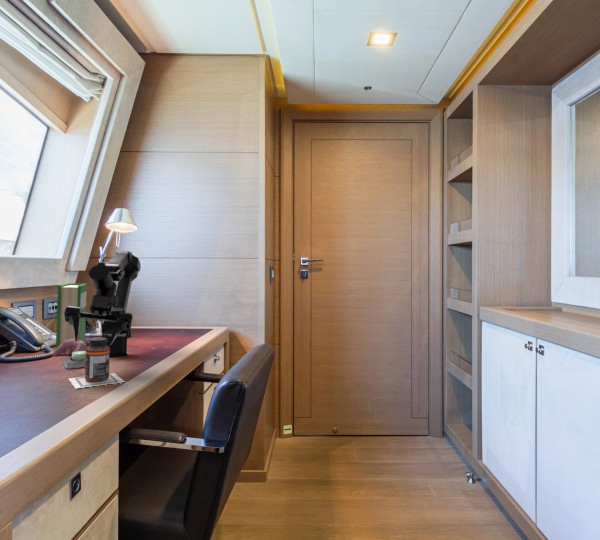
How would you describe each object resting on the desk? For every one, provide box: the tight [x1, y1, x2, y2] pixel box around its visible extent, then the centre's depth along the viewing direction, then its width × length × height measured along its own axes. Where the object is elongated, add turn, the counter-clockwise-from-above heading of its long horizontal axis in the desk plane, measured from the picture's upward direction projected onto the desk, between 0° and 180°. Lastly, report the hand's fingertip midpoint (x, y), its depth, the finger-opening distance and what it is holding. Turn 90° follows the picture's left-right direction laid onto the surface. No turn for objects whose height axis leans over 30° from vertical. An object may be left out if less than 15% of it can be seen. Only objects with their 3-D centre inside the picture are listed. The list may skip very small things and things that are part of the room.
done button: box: [71, 350, 86, 362], centre depth 132 cm, size 5×5×2 cm
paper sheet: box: [68, 372, 126, 390], centre depth 114 cm, size 12×11×1 cm
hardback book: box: [55, 283, 88, 350], centre depth 160 cm, size 18×7×24 cm, turn 21°
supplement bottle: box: [84, 337, 111, 382], centre depth 114 cm, size 6×6×11 cm
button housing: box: [62, 356, 86, 370], centre depth 132 cm, size 9×9×2 cm
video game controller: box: [53, 339, 88, 357], centre depth 145 cm, size 10×5×7 cm, turn 71°
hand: (93, 343), depth 123 cm, fingers open, 9 cm apart
